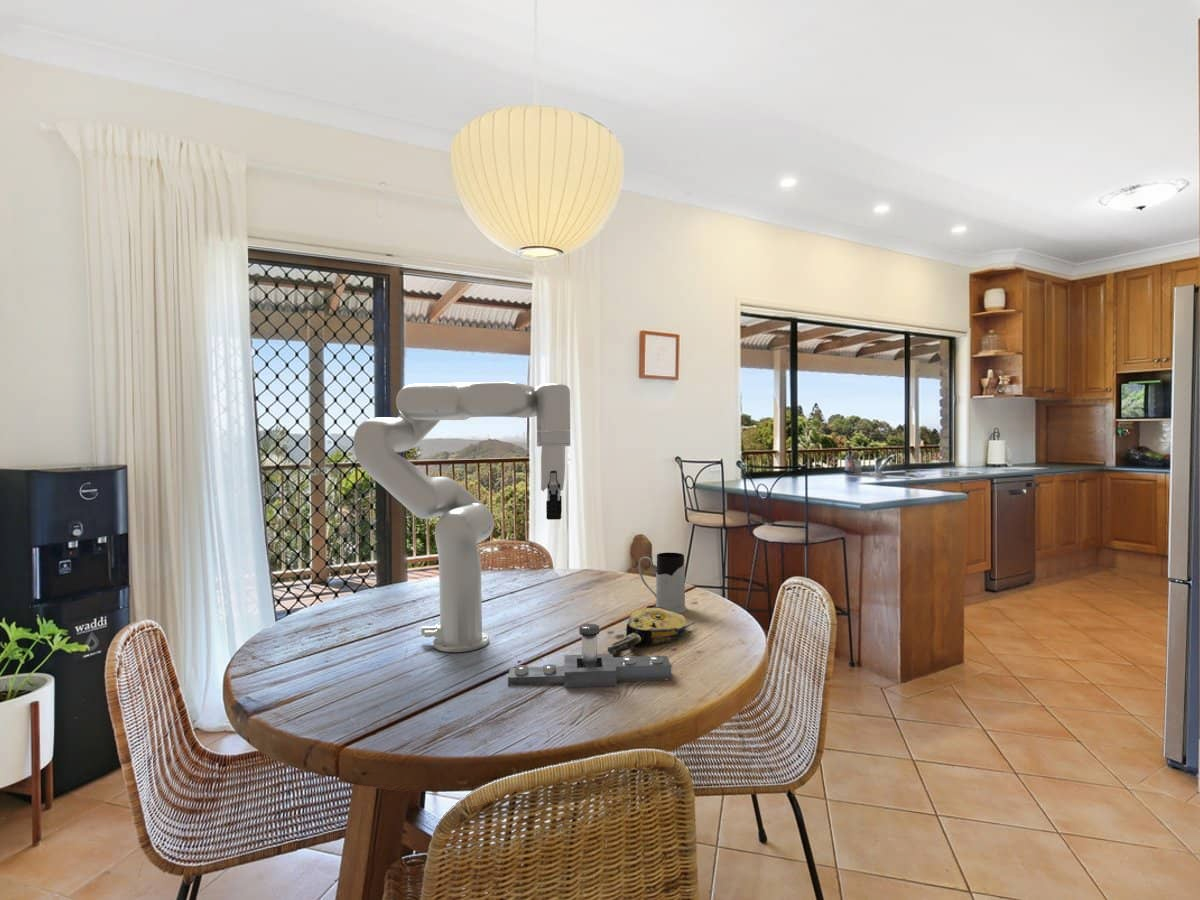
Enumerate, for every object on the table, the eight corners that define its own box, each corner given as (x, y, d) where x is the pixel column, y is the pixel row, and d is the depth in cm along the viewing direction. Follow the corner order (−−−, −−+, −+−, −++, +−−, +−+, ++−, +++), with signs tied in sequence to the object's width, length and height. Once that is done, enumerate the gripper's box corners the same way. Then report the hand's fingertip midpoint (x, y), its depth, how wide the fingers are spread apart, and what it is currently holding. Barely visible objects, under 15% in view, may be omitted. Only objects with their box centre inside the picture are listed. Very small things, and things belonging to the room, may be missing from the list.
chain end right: (564, 687, 118) (564, 669, 118) (564, 669, 127) (564, 652, 127) (672, 684, 119) (672, 665, 119) (665, 666, 128) (665, 649, 128)
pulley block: (587, 625, 135) (651, 595, 161) (584, 650, 136) (648, 616, 161) (642, 647, 128) (701, 611, 153) (639, 673, 128) (697, 633, 154)
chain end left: (506, 689, 117) (506, 677, 117) (511, 671, 126) (510, 659, 126) (616, 686, 118) (616, 673, 118) (612, 668, 127) (612, 656, 127)
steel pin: (579, 681, 120) (579, 630, 120) (579, 673, 124) (579, 623, 124) (600, 681, 121) (599, 629, 120) (599, 673, 125) (598, 623, 124)
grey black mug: (678, 615, 163) (678, 559, 163) (631, 607, 171) (631, 554, 170) (691, 607, 171) (691, 553, 170) (646, 600, 178) (645, 549, 178)
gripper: (538, 439, 145) (539, 511, 146) (534, 440, 128) (535, 522, 128) (570, 439, 145) (570, 511, 146) (570, 440, 128) (571, 521, 129)
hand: (554, 516), depth 137 cm, fingers open, 9 cm apart
